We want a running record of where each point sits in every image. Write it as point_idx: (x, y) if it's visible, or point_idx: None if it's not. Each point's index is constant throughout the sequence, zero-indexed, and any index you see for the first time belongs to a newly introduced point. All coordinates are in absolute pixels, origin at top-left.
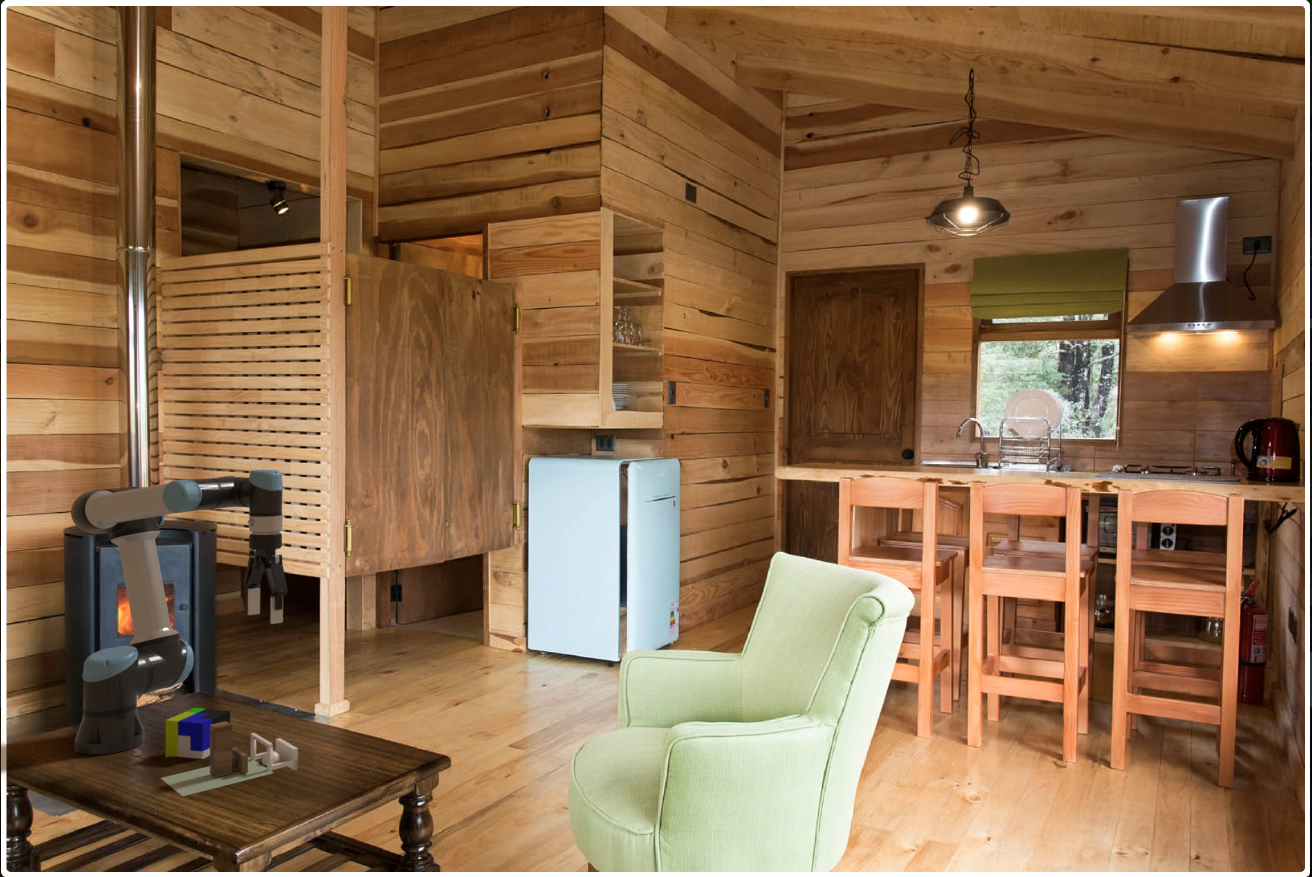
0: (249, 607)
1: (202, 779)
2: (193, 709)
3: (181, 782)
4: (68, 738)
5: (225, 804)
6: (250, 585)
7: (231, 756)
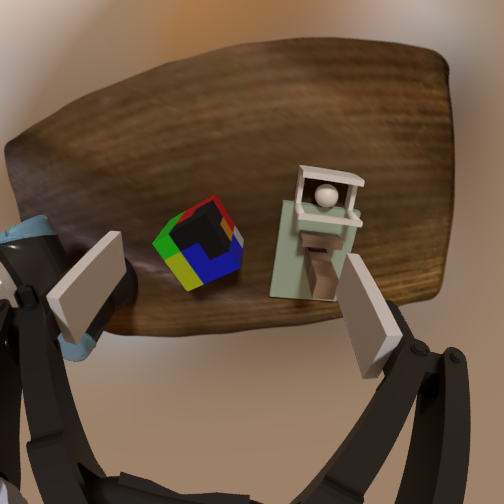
0: (113, 288)
1: None
2: (159, 248)
3: (300, 288)
4: None
5: (370, 273)
6: (60, 350)
7: (329, 258)
